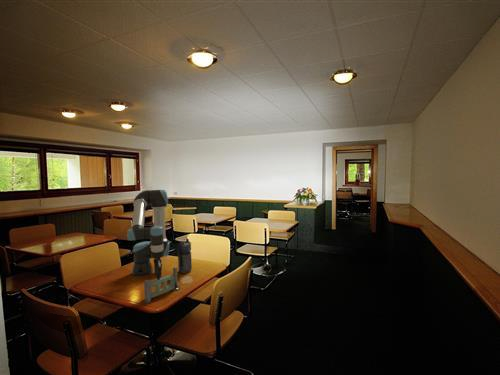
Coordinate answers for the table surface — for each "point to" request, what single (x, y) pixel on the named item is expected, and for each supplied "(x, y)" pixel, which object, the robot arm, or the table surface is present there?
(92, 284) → the table surface
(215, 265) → the table surface
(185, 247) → the beverage bottle
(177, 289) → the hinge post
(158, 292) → the gate
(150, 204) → the robot arm
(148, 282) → the post
